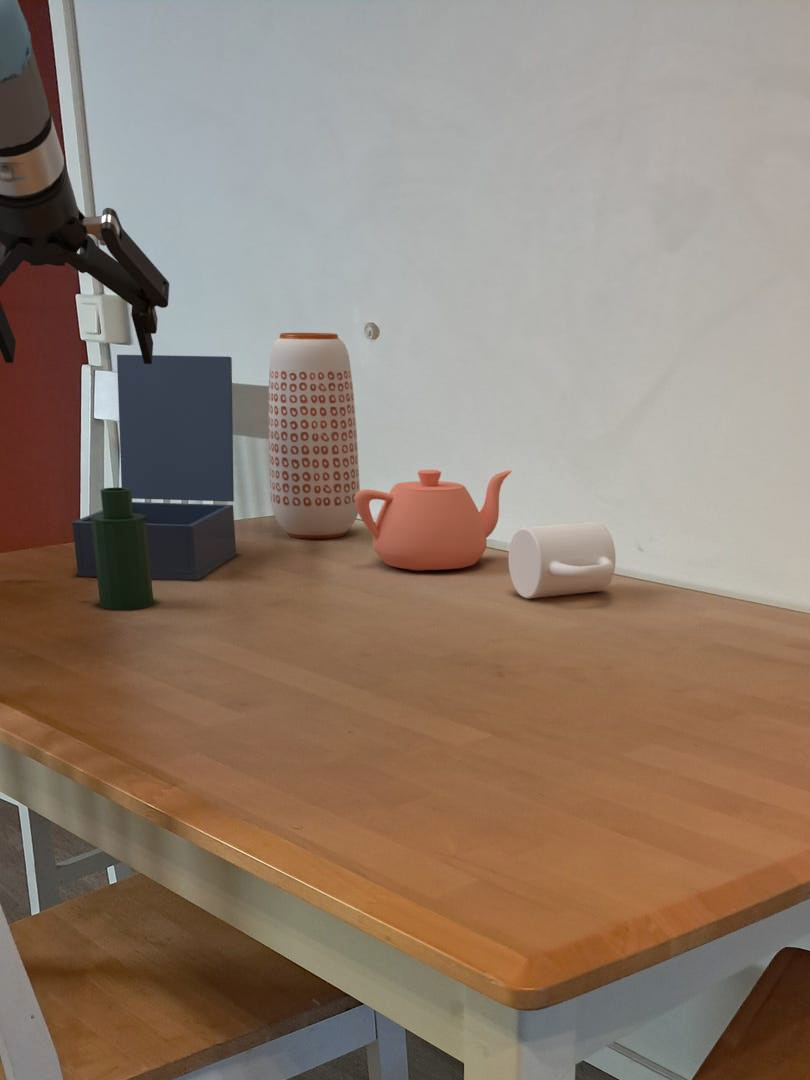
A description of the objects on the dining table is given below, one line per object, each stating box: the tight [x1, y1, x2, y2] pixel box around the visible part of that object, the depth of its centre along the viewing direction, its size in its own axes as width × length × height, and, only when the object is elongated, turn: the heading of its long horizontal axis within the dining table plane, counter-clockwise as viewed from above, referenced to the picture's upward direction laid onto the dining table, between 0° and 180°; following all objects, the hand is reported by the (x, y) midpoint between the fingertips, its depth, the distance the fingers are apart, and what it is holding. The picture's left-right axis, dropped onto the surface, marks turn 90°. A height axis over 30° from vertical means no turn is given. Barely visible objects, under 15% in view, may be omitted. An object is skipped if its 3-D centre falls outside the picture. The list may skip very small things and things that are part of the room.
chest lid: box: [116, 354, 235, 502], centre depth 175 cm, size 19×16×7 cm
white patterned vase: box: [268, 332, 361, 540], centre depth 187 cm, size 13×13×28 cm
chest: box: [71, 501, 237, 581], centre depth 168 cm, size 18×16×7 cm
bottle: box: [91, 486, 154, 611], centre depth 146 cm, size 6×6×13 cm
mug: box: [508, 521, 617, 599], centre depth 153 cm, size 12×10×8 cm
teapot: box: [354, 469, 513, 572], centre depth 170 cm, size 22×15×12 cm
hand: (80, 353), depth 128 cm, fingers open, 13 cm apart
